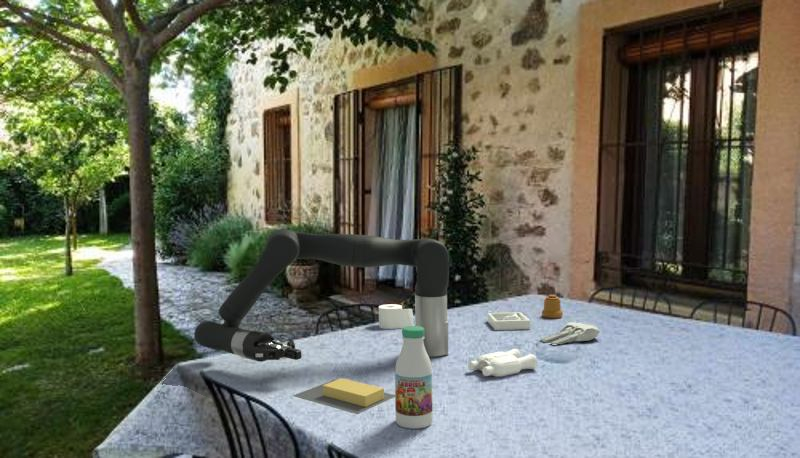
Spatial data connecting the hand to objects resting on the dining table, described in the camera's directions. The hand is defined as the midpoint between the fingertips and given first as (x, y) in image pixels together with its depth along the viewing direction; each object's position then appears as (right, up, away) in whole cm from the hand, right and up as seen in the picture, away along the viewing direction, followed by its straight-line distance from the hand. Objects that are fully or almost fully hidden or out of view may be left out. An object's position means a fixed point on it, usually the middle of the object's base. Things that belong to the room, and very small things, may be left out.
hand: (299, 355), depth 153 cm
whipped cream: (+63, -3, +61) cm, 88 cm away
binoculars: (+52, -7, +11) cm, 53 cm away
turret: (+78, -4, +41) cm, 89 cm away
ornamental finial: (+81, -1, +75) cm, 110 cm away
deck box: (+9, -6, -6) cm, 12 cm away
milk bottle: (+28, -9, -24) cm, 38 cm away
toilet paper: (+23, -3, +62) cm, 66 cm away
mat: (+12, -8, -8) cm, 17 cm away
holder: (+62, -2, +62) cm, 88 cm away
